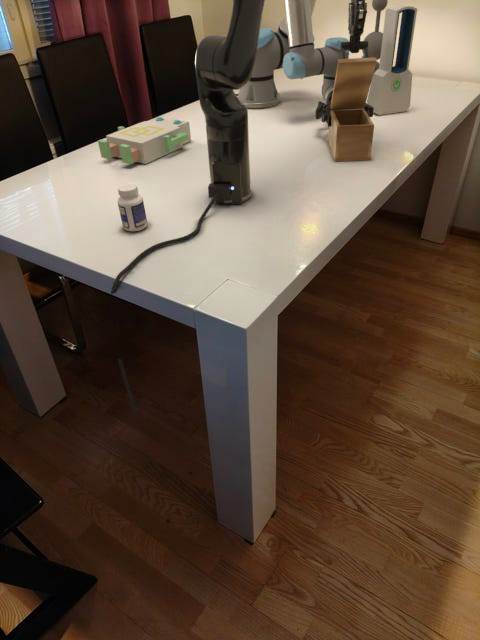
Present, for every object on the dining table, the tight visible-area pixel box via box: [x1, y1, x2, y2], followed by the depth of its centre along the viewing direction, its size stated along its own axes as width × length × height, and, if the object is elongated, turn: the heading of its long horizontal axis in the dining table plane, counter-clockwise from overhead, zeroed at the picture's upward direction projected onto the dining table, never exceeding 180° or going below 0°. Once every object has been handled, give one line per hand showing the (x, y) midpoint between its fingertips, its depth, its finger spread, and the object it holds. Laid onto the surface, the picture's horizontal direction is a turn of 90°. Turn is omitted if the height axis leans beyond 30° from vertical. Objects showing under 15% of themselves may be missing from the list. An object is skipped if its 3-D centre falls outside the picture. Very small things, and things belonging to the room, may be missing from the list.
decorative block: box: [97, 116, 192, 165], centre depth 142 cm, size 26×6×20 cm
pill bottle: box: [117, 182, 148, 232], centre depth 102 cm, size 5×5×9 cm
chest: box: [328, 109, 375, 162], centre depth 133 cm, size 16×9×9 cm, turn 178°
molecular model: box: [361, 0, 388, 75], centre depth 186 cm, size 24×22×30 cm
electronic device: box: [366, 4, 418, 116], centre depth 155 cm, size 12×8×30 cm, turn 105°
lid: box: [331, 40, 378, 109], centre depth 130 cm, size 16×9×8 cm
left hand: (353, 51), depth 126 cm, fingers closed on lid, 2 cm apart
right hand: (348, 121), depth 136 cm, fingers closed on chest, 9 cm apart
